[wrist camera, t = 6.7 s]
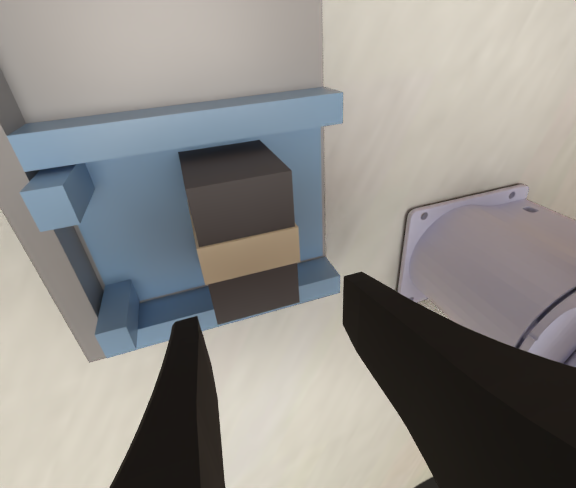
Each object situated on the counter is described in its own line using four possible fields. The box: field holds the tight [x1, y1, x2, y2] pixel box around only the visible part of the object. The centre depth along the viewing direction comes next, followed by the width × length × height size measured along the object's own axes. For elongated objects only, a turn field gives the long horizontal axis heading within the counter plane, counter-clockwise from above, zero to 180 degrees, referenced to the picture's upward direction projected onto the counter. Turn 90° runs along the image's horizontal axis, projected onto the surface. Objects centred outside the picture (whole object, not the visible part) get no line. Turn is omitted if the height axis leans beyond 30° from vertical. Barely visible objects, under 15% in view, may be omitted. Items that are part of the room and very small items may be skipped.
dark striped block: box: [178, 140, 300, 325], centre depth 15 cm, size 4×6×5 cm, turn 4°
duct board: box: [0, 0, 343, 363], centre depth 13 cm, size 13×20×4 cm, turn 4°
